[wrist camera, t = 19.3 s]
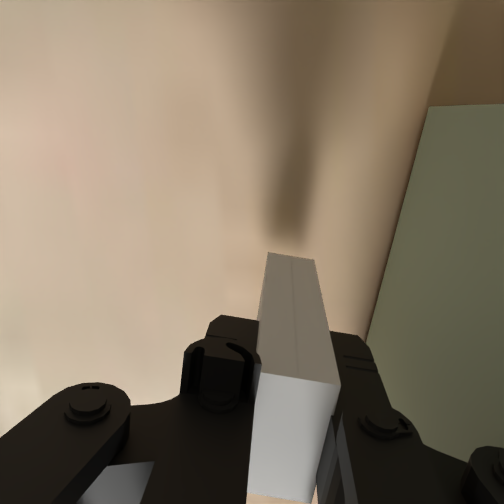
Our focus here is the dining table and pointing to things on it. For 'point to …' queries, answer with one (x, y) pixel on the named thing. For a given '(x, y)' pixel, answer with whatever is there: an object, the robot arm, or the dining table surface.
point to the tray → (448, 286)
